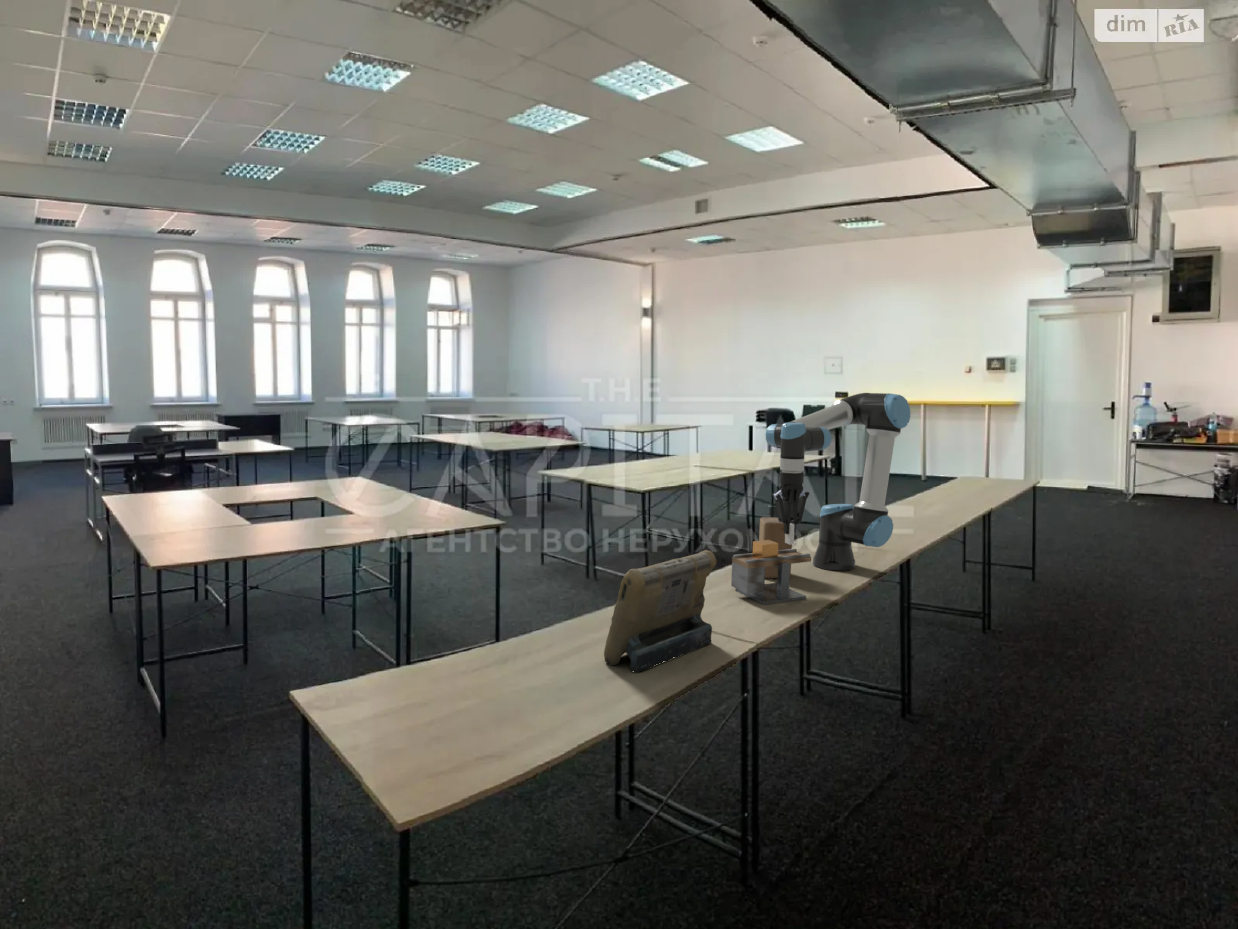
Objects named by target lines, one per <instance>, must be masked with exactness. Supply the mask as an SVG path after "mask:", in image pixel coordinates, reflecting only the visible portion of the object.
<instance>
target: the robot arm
mask: <svg viewBox="0 0 1238 929" xmlns="http://www.w3.org/2000/svg"><path fill="white" fill-rule="evenodd" d="M910 419H911V406H910V405H909V402H908V400H907V398H905V396H903V395H901V394H896V393H884V392H882V393H881V392H880V393H878V392H875V393H874V392H873V393H872V392H862V393H860V392H859V393H856V394H853V395H849V396H847V397H844V398H841V399H838V400H836V401H834V402H833V403H832V404H831V406H828V407H826V408H823V409H820V410H817V411H814V412H813V413H810V414H807V415H804V416H802V417H799V418H796V419H794V420H791V421H788V422H784V423H782V424H779V423H775V424H774V423H772V424H770V425H769V426H768V427H767V429H766V430H765V440H766V443H767V444H768V445H769V446H771V447H772V446H773V447H777V448H780V456H779V457H780V458H779V469H780V472H779V479H778V480H779V483H780V484H779V487H778V491H777V492H775V493H772V498H773V499H774V502H775V507H776V514H777V518H778V521H779V522H782V523H783V524H784V533H785V543H787V544H790V545H791V544H792V545H794V543H795V534H796V532H797V525H798V524H799V522H802V520H803V515H804V512H805V508H806V504H807V500H808V497H809V496H810V492H808V491H806V490H805V489H804V486H803V484H804V480H805V478H804V476H805V475H804V470H805V453H806V452H814V451H818V452H820V451H822V450H826V449H828V448H829V446H831V443H832V433H831V432H830V430H832V429H834V428H837V427H847V426H849V425H861V426H862V425H863V426H866V427H865V431H867V433H868V435H869V437H868V444H867V448H866V449H867V450H866V455H865V461H864V462H865V464H864V469H863V476H862V483H861V489H860V495H859V496H860V497H859V501H858V502H856V503H855V504H850V503H833V504H830V503H829V504H825V505H822V507H821V508H820V511H819V512H820V515H819V527H818V528H819V531H818V546H817V547H816V549H815V550H816V551H815V554H814V556H813V558H812V565H813V566H815V567H816V568H820V569H822V570H829V571H840V572H841V571H842V572H844V571H852V570H854V569H855V568H856V559H855V556H854V551H853V549H852V548H853V547H852V543H854V544H858V545H863V546H866V547H873V548H880V547H883V546H884V545H885V544H887V542H888V541H889V540H890V539H891V536H892V534H893V531H894V522H893V519H892V517H890V516H889V509H888V508H887V506H886V498H887V491H888V485H889V478H890V473H891V467H892V466H891V465H892V460H893V453H894V447H895V440H896V438H897V437H898V436H900V435H901V430H902V429H903V428H906V427H907V426H908V424H909V423H910V421H911V420H910ZM851 569H852V570H851Z"/></svg>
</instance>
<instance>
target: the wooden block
mask: <svg viewBox="0 0 1238 929" xmlns="http://www.w3.org/2000/svg"><path fill="white" fill-rule="evenodd" d="M758 532H759V535H758V537H759V539H758V541H762V540H770V541H773V542H776V543H778V550H786V549H793V544H791V545H790V544H787V543H785V533H784V524H783V523H782V522H779V521H778V517H771V516H770V517H769V516H768V517H767V516H766V517H765V516H764V517H763V516H762V517H760V519H759V531H758ZM791 573H792V564H790V574H789V579H790V578H791V575H792V574H791ZM774 578H778V568H776V567H774V566H767V567H765V579H774Z"/></svg>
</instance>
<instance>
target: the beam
mask: <svg viewBox="0 0 1238 929" xmlns="http://www.w3.org/2000/svg"><path fill="white" fill-rule="evenodd" d="M797 550H798V549H797V548H792V549H786V550H778V557H770V558H761V559H757V558H755V557H753V552H751V553H749V552H748V553H740V554H733V556H732V557H731V583H730V584H731V585H730V586H731V587H733V588H734V589H735V590H736V589H738V590H740V591H742V592H744V593H747V594H749V593H757V592H763V584H765V583H764V567H767V566H774V567H776V568H778V563H783V562H787V563H789V564H791V565H792V564H801V563H802V564H803V563H808V562H809V563H810V562H812V556H811V553H802V552H800V551H797Z"/></svg>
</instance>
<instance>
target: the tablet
mask: <svg viewBox="0 0 1238 929" xmlns="http://www.w3.org/2000/svg"><path fill="white" fill-rule="evenodd" d="M717 562H718V561H717V558H716V556H715V554H714V553H713V552H712V551H710V550H709V549H708V550H707V549H704V550H702V551H700V552H698V553H695V554H694V553H693V554H691V555H688V556H683V557H679V558H672V559H670V560H666V561H663V562H659V563H655V564H652V565H651V564H650V565H648V566H645V567H639V568H631V569H628V571H626V573H625V574H624V576H623V578H622V580H621V583H620V586H619V591H618V593H617V594H618V596H617V601H616V603H615V605H614V608H613V614H612V617H611V624H610V626H609V631H608V634H607V637H606V641H605V645H604V651H603V656H604V662H606V664H608V665H609V664H610V665H609V666H616V665H618V664H619V663H620V661H621V659H622V658H621V657H623V655H624V654H625V653H626V654H627V656H628V658H629V659H630V665H629V669H630V672H632V671H634V672H638V673H641V672H644V671H646V670H648V668H649V669H651V668H650V667H652V668H654V667H655V666H654V665H656V664H659V663H662V662H663V661H667V662H669V661H668V660H670V659H672V658H673V657H677V658H679V657H681V656H680V655H682V654H684V655H686V653H687V654H689V653H691V652H690V651H692V652H693V650H694V651H696V650H699V649H701V648H704V647H706V646H707V645H710V644H711V643H712V632H713V625H711V624H710V623H708V622H705V621H704V620H703V619H702V616H701V615H702V610H703V609H704V607H705V600H706V599H705V595H704V589H705V587H706V581H707V578H708V577H709V576H710V574H711V572H712V570H713V569H714V568H715V566H716V565H717ZM688 652H689V653H688ZM678 656H679V657H678ZM682 656H683V655H682ZM672 660H673V659H672ZM670 661H671V660H670ZM662 664H663V663H662ZM659 665H660V664H659ZM653 666H654V667H653ZM640 671H641V672H640ZM634 672H633V673H634Z"/></svg>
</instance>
